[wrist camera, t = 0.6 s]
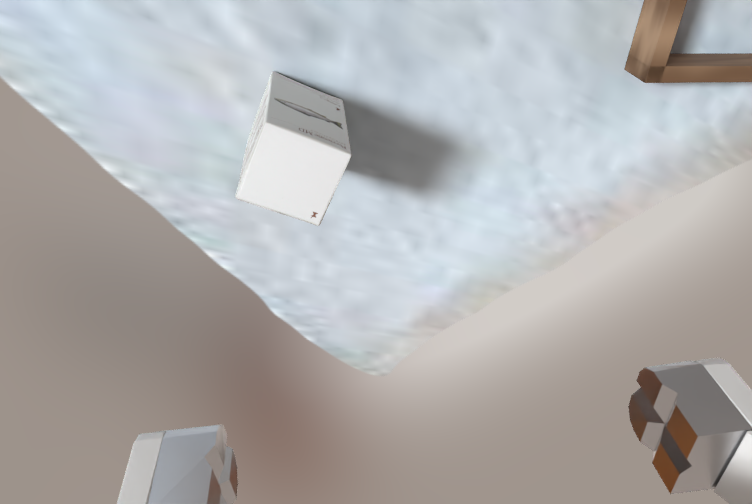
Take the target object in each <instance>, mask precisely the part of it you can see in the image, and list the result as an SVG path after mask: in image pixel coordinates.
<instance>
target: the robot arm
mask: <svg viewBox="0 0 752 504" xmlns="http://www.w3.org/2000/svg"><path fill="white" fill-rule="evenodd" d="M637 382H638V383H639V385H640V387H641V388H640V389H638V390H637V391H636V392H635V393H634V394H632V395H631V399H630V403H629V406H628V407H629V415H630V421H631V424H632V427H633V430H634V432H635V433H636V435H637V437H638V439H639V441H640V442H641V443H642V444H644V445H645V446H647V447H648V448H650V449H651V450H653V451H654V453H653V460H652V463H653V465H654V467H655V469H656V470H657V472H658V474H659V475H660V477H661V479H662V480H663V482H664V484H665V486H666V487H667V489H668V491H669V492H670V494H674V493H683V492H691V491H700V490H708V489H714V492H715V493H716V494H718V495H719V496H720V497H721V498H723V499H724V500H725V501H727V502H728V503H729V504H752V390H751V389H750V388H749V386H748V385H747V384H746V383H745V382H744V380H743V379H742V378H741V377H740V376H739V375H738V373H737V372H736V371H735V370H734V369H733V367H732V366H731V365H730V364H729V363H728V362H727V361H725V360H724V359H722V358H712V359H705V360H698V361H686V362H679V363H673V364H666V365H659V366H652V367H646V368H644V369H643V370H641V371H640V372H639V375H638V378H637ZM226 443H227V433H226V431H225V428H224V426H223V425H214V426H205V427H195V428H186V429H177V430H167V431H159V432H151V433H143V434H139V435H138V437H137V439H136V440H135V442H134V443H133V448H132V451H131V455H130V458H129V462H128V465H127V469H126V472H125V476H124V480H123V483H122V487H121V491H120V494H119V498H118V502H117V504H233V503H234V501H235V500H236V498H237V486H238V480H237V465H236V459H235V455H234V452H233V449H231V448H230V447H228V446H226Z"/></svg>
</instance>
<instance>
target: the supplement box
mask: <svg viewBox="0 0 752 504" xmlns="http://www.w3.org/2000/svg"><path fill="white" fill-rule="evenodd" d="M351 156H352V155H351V149H350V142H349V135H348V129H347V123H346V117H345V111H344V104H343V100H342V99H339V98H336V97H333V96H331V95H328V94H325V93H323V92H320V91H318V90H315V89H313V88H310V87H308V86H306V85H303V84H301V83H299V82H296V81H294V80H292V79H290V78H287V77H285V76H283V75H281V74H279V73H277V72H274V71H272V73H271V76H270V78H269V81H268V84H267V87H266V90H265V92H264V95H263V98H262V100H261V103H260V106H259V109H258V112H257V114H256V117H255V120H254V123H253V126H252V129H251V131H250V134H249V137H248V142H247V146H246V150H245V155H244V160H243V165H242V170H241V175H240V179H239V184H238V189H237V192H236V195H235V197H236V199H238V200H240V201H244V202H247V203H250V204H253V205H256V206H259V207H262V208H265V209H268V210H271V211H274V212H277V213H280V214H283V215H287V216H290V217H293V218H296V219H299V220H302V221H305V222H308V223H311V224H314V225H317V226H319V225H320V223H321V221H322V219H323V217H324V215H325V212H326V210H327V208H328V206H329V204H330V201H331V199H332V197H333V195H334V192H335V190H336V188H337V186H338V184H339V182H340V179H341V177H342V175H343V173H344V171H345V169H346V167H347V165H348V163H349V160H350V158H351Z"/></svg>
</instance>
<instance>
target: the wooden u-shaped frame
mask: <svg viewBox="0 0 752 504" xmlns="http://www.w3.org/2000/svg"><path fill="white" fill-rule="evenodd" d="M686 3H687V0H644V3H643V7H642V10H641V14H640V17H639V20H638V24H637V27H636V31H635V34H634V38H633V41H632V45H631V48H630V52H629V55H628V59H627V62H626V66H625V70H626V71H628V72H629V73H631V74H632V75H634V76H635V77H637V78H638V79H640V80H641V81H643V82H645V83H680V82H752V54H670V51H671V48H672V45H673V42H674V39H675V36H676V33H677V30H678V27H679V24H680V21H681V18H682V15H683V12H684V9H685V6H686Z"/></svg>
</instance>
